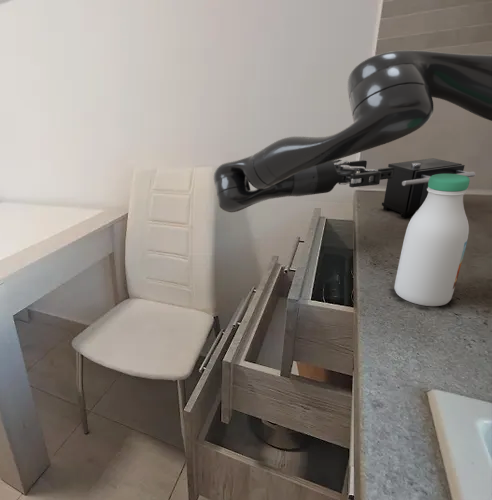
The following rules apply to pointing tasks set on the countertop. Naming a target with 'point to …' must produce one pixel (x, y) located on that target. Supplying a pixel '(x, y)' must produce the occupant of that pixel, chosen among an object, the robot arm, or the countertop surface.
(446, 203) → the milk bottle
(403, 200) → the black box with rod
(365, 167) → the robot arm
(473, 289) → the countertop surface
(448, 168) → the oven door
